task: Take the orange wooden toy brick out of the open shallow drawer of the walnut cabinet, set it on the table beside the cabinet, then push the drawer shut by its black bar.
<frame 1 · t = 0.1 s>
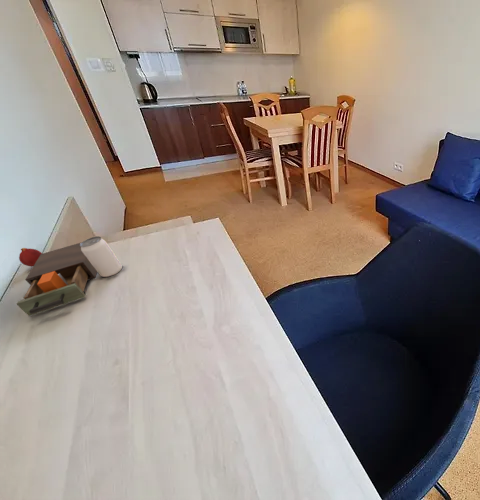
can: (112, 271, 100), on the table
drawer: (56, 290, 89), point 3 cm above the table, slide at 10.0 cm, touching orange wooden toy brick
cabinet: (73, 273, 101), on the table
onion: (39, 266, 107), on the table
orange wooden toy brick: (60, 291, 90), point 2 cm above the table, touching drawer
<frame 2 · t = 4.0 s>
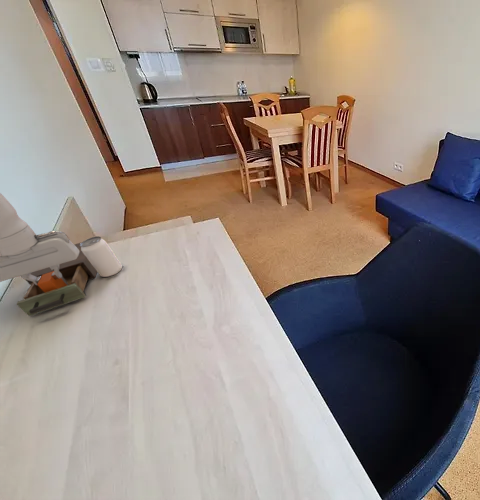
hand: (49, 280, 87), 7 cm above the table, tool pointing down, fingers closed on orange wooden toy brick, 3 cm apart
orange wooden toy brick: (60, 291, 90), point 2 cm above the table, touching drawer, gripper
everything else where it was.
when the fingers open (4 cm above the table, at t = 9.5 s): orange wooden toy brick stays where it is, on the table.
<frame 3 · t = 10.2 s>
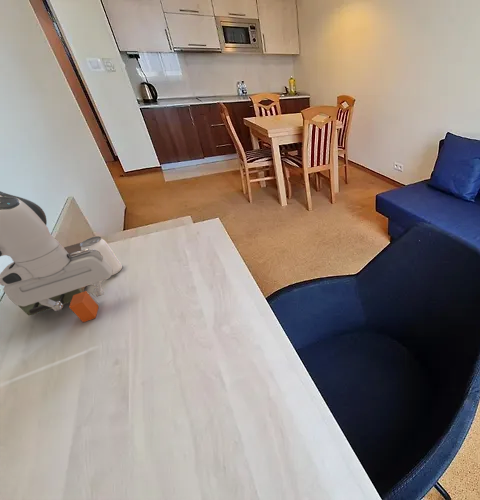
hand: (80, 301, 81), 5 cm above the table, tool pointing down, fingers open, 8 cm apart
drawer: (56, 290, 89), point 3 cm above the table, slide at 10.0 cm
orange wooden toy brick: (91, 312, 84), on the table
everything else where it was.
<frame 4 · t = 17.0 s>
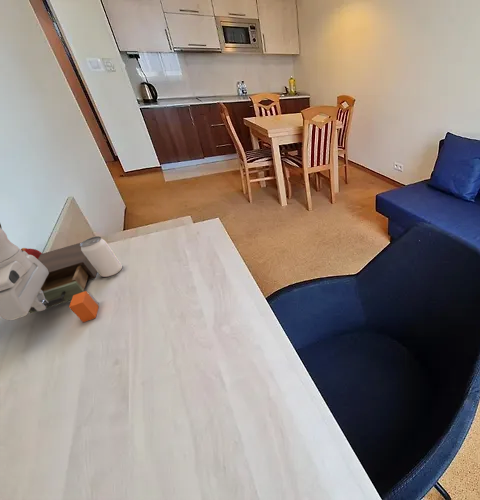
hand: (43, 307, 81), 4 cm above the table, tool pointing down, fingers closed
drawer: (57, 287, 90), point 3 cm above the table, slide at 8.9 cm, touching gripper
everything else where it was.
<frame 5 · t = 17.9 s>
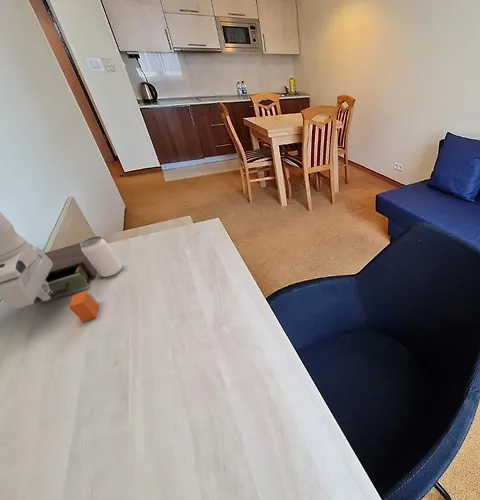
hand: (48, 297, 84), 5 cm above the table, tool pointing down, fingers closed
drawer: (61, 279, 93), point 3 cm above the table, slide at 4.4 cm, touching gripper
everything else where it was.
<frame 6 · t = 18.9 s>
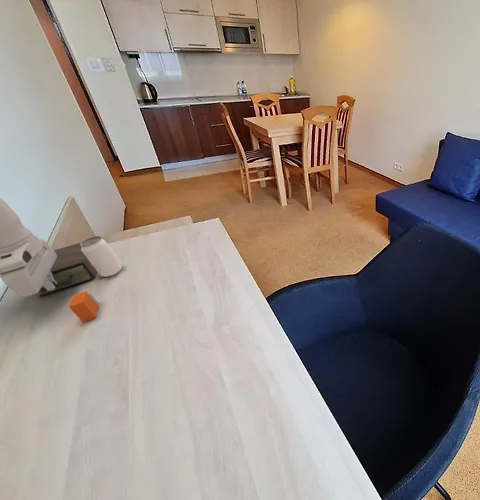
hand: (53, 287, 88), 5 cm above the table, tool pointing down, fingers closed
drawer: (64, 272, 96), point 3 cm above the table, slide at 0.0 cm, touching cabinet, gripper
everything else where it was.
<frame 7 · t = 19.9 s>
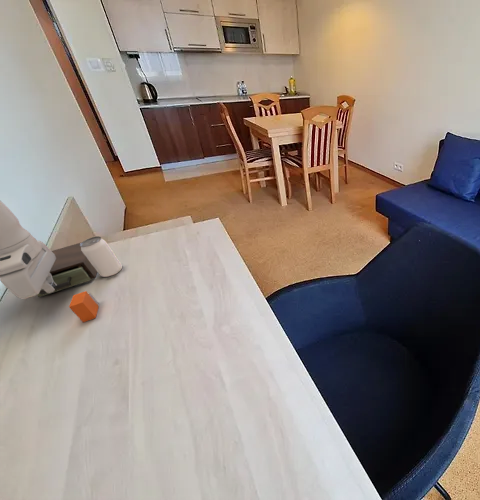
hand: (52, 289, 87), 5 cm above the table, tool pointing down, fingers closed
drawer: (64, 273, 96), point 3 cm above the table, slide at 1.1 cm
everything else where it was.
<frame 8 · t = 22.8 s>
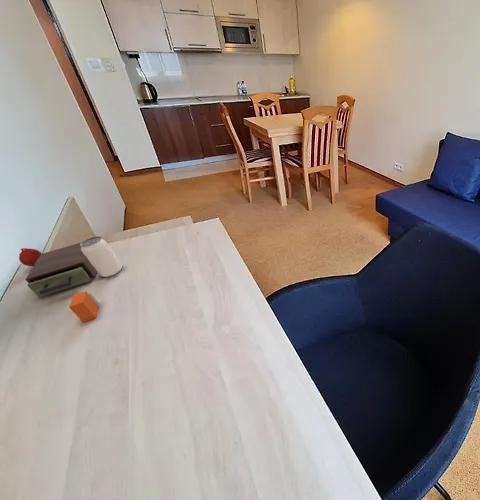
nothing on the table moved.
at the end: orange wooden toy brick inside the target area (0.4 cm from its centre), on the table; the gripper is holding nothing; drawer slide at 1.1 cm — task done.
